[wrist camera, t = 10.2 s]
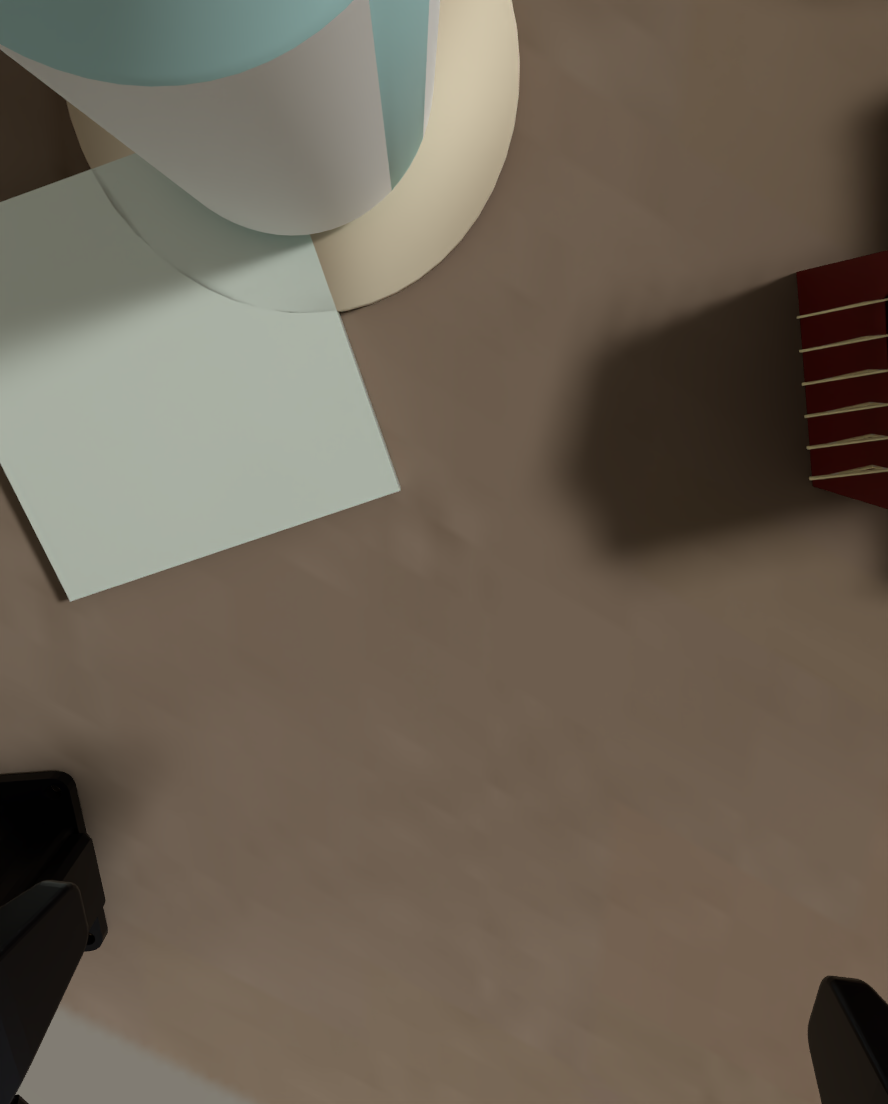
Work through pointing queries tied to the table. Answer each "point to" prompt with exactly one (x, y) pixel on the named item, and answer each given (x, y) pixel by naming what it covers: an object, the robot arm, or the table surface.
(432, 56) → the can
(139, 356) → the square grey-green coaster
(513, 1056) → the table surface
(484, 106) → the round birch coaster
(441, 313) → the table surface
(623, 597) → the table surface
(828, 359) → the toy houses
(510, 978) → the table surface
